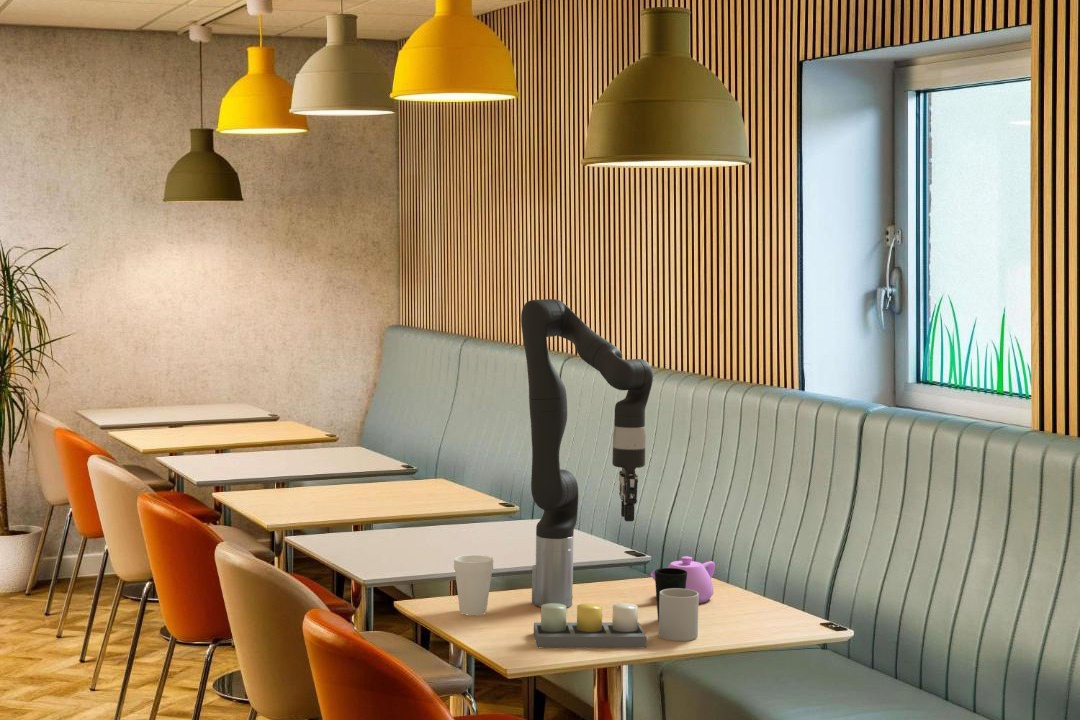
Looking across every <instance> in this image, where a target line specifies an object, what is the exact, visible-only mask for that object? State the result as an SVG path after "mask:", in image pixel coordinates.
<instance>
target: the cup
mask: <svg viewBox="0 0 1080 720" xmlns="http://www.w3.org/2000/svg"><path fill="white" fill-rule="evenodd" d="M654 571H655V580H654V582H655V596H656V609H657V622H658V623H659V594H660V591H661V590H664V589H671V588H681V589H686V580H687V571H685V570H682V569H677V568H667V567H663V568H662V567H661V568H657V569H655V570H654Z"/></svg>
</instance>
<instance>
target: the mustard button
mask: <svg viewBox="0 0 1080 720" xmlns="http://www.w3.org/2000/svg"><path fill="white" fill-rule="evenodd" d="M602 622H603V606H602V605H601V604H597V603H593V602H592V603H590V602H589V603H588V602H587V603H580V604H577V606H576V623H577V629H578V630H580V631H585V632H596V631H600V630H602Z"/></svg>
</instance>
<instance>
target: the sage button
mask: <svg viewBox="0 0 1080 720" xmlns="http://www.w3.org/2000/svg"><path fill="white" fill-rule="evenodd" d="M540 609H541V610H540V613H541V615H540V623H541V629H542V630H544V631H549V632H560V631H564V630H566V623H567V607H566V605H563V604H557V603H549V604H543V605H542V606H541V607H540Z"/></svg>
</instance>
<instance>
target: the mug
mask: <svg viewBox="0 0 1080 720" xmlns="http://www.w3.org/2000/svg"><path fill="white" fill-rule="evenodd" d="M699 604H700V603H699V593H698V592H696V591H694V590H689V589H681V588H671V589H664V590H661V591H660V594H659V622H658V636H659V637H660V638H661V639H663V640H667V641H673V642H689V641H693V640H697V638H698V636H699V606H700V605H699Z"/></svg>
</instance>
